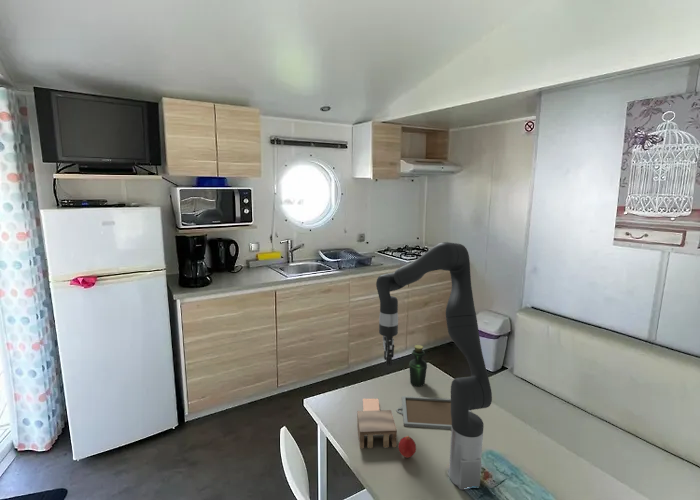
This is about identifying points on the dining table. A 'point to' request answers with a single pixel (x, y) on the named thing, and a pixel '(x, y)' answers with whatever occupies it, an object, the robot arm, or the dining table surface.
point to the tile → (370, 405)
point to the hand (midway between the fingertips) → (387, 362)
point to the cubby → (376, 427)
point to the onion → (407, 447)
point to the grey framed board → (426, 412)
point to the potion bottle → (418, 367)
